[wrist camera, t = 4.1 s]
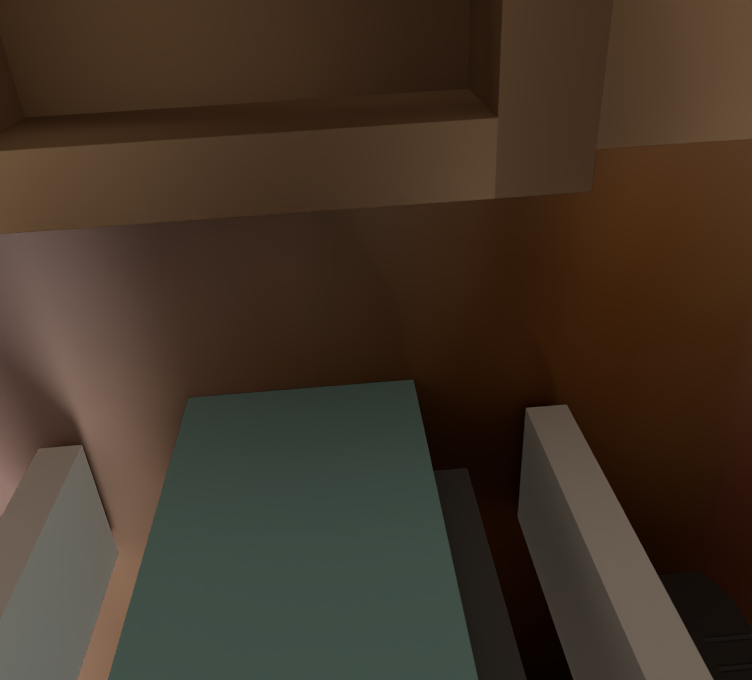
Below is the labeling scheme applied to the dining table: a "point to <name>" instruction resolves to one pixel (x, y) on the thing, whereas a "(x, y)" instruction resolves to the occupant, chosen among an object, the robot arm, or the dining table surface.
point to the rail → (345, 101)
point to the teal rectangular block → (315, 549)
